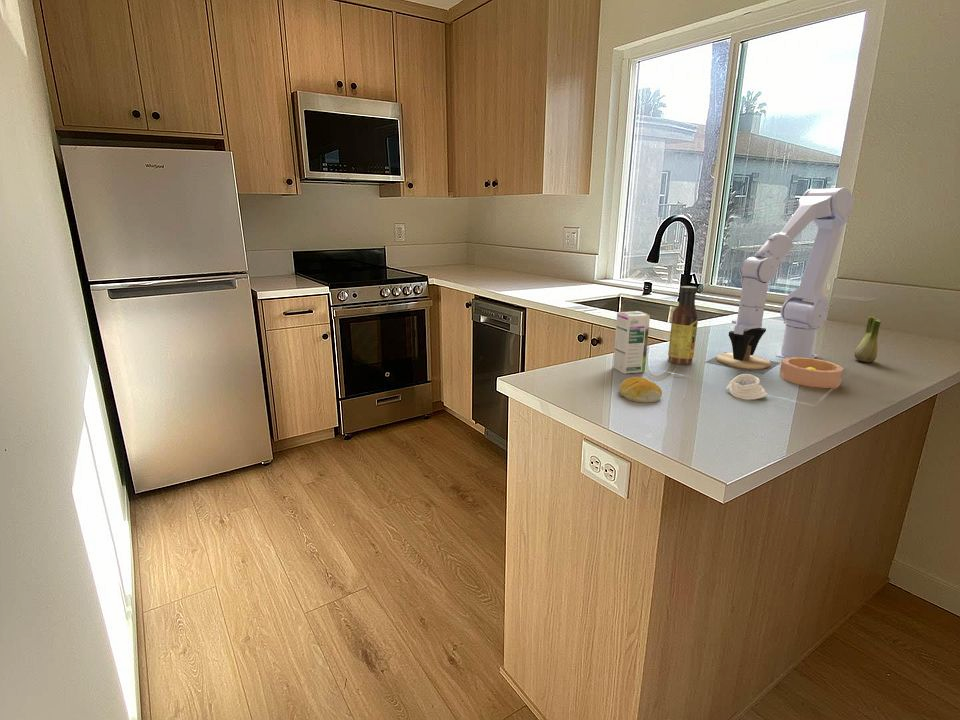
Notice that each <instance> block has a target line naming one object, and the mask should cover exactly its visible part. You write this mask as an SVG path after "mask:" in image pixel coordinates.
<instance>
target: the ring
mask: <svg viewBox="0 0 960 720" xmlns="http://www.w3.org/2000/svg"><path fill="white" fill-rule="evenodd" d="M808 367H812V368H815V369H816V370H812V369H807V368H808ZM843 374H844V368H843V367H842V366H841V365H840V364H837V363H835V362H831V361H828V360H822V359H818V358H803V357H790V358H782V359H781V362H780V368H779V376H780V377H781V379H783V380H785V381H787V382H790V383H792V384H796V385H801V386H805V387H809V388H822V389H823V388H825V389H830V388H831V389H838V388H839V387H840V386H841V382H842V380H843V379H842V378H843ZM831 389H830V390H831Z"/></svg>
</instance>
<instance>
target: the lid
mask: <svg viewBox="0 0 960 720" xmlns="http://www.w3.org/2000/svg"><path fill="white" fill-rule="evenodd" d="M750 352H751V346H749V345H748V348H747V351H746V354H745V357H744V359H743V360H742V361H740V360H735V359H734V358H733V352H727V353H725V352H722V353H720V354H717V361H718V362H720V363H722V364H724V365H727V366H731V367H736V368H742V369H755V370H756V369H766V368H769V367H770V361H771V360H769V359H767V358H765V357H762V356H759V355H755V354H753V355H750Z"/></svg>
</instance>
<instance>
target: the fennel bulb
mask: <svg viewBox="0 0 960 720" xmlns="http://www.w3.org/2000/svg"><path fill="white" fill-rule="evenodd" d="M881 322H882V321H881V320H880V319H878V318H875V317H874V316H868V318H867V323H866V327H865V331H864V335H863V337H862V339H861V340H860V343H859V344H858V345H857V346H856V348H855V350H854V355H853V356H854V358H855V359H856V360H857V361H859V362H865V363H872V362H875V360H876V359H877V357H878V334H879V330H880V327H881V324H882V323H881Z"/></svg>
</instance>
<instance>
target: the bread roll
mask: <svg viewBox="0 0 960 720" xmlns="http://www.w3.org/2000/svg"><path fill="white" fill-rule="evenodd" d="M618 388H619V395H620V396H621V397H624V398H625V399H626V400H628V401H631V402H635V403H646V404H647V403H650V404H651V403H655V402H658V401H659V400H660V399H661V397H662V395H663V390H662V389H661V387H660V386H659V385H658V384H657V383H655V382H653V381H650V380H648V379H647V378H645V377H641V376H632V377H628V378H626V379H624V380H623V381H622V382H621V383H620V385H619V387H618Z"/></svg>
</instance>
